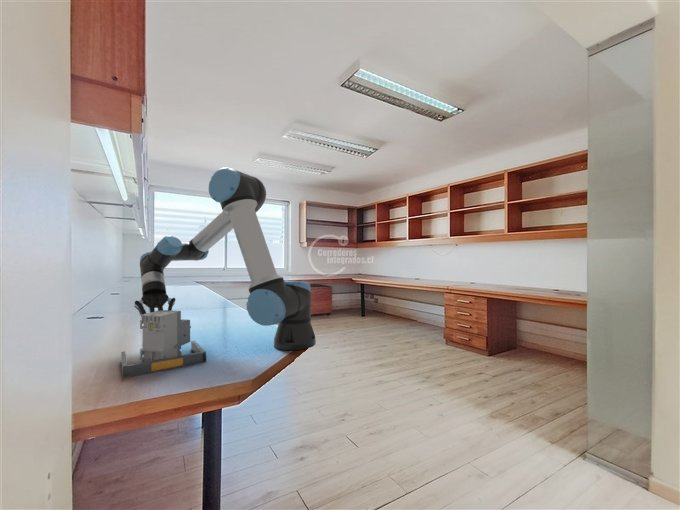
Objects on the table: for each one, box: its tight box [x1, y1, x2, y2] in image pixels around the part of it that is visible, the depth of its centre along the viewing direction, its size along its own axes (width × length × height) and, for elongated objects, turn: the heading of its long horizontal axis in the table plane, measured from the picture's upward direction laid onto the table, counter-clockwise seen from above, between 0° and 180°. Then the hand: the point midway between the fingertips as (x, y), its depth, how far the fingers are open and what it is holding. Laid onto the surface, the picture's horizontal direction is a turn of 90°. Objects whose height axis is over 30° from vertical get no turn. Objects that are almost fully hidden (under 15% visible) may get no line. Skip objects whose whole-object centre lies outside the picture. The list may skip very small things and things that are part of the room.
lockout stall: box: [120, 340, 207, 379], centre depth 96 cm, size 17×21×3 cm
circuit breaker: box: [139, 309, 192, 363], centre depth 99 cm, size 8×14×15 cm, turn 169°
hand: (159, 340), depth 102 cm, fingers closed
